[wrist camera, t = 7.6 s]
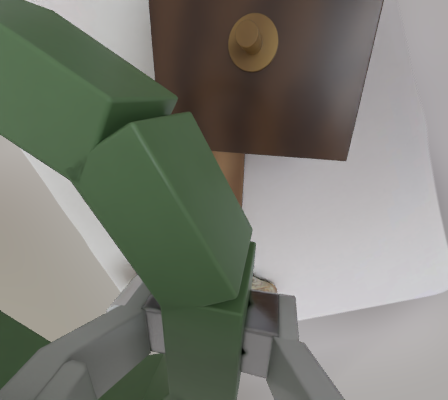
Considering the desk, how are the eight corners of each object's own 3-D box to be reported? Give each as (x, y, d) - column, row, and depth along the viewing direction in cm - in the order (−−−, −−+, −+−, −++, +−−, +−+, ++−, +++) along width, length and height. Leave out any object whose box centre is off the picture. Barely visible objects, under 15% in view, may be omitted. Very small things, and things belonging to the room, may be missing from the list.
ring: (281, -5, 5) (280, -105, 3) (238, 417, 12) (226, 508, 10) (-212, 15, 9) (-439, -22, 6) (-26, 342, 15) (-91, 394, 13)
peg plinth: (354, -30, 27) (459, -211, 11) (323, 136, 34) (358, 174, 18) (199, -19, 30) (104, -146, 14) (201, 129, 38) (139, 156, 22)
